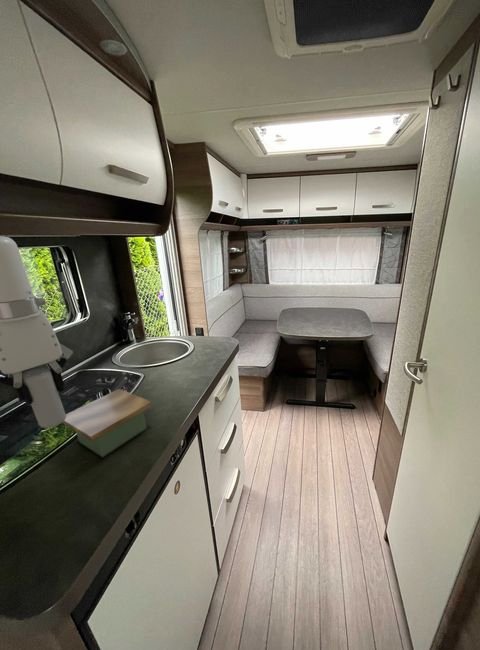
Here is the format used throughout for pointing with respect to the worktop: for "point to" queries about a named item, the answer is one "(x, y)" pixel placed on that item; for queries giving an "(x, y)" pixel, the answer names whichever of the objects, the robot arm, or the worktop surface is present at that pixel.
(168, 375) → the worktop surface
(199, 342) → the worktop surface
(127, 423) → the box
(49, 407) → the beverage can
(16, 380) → the robot arm
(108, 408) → the board
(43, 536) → the worktop surface
